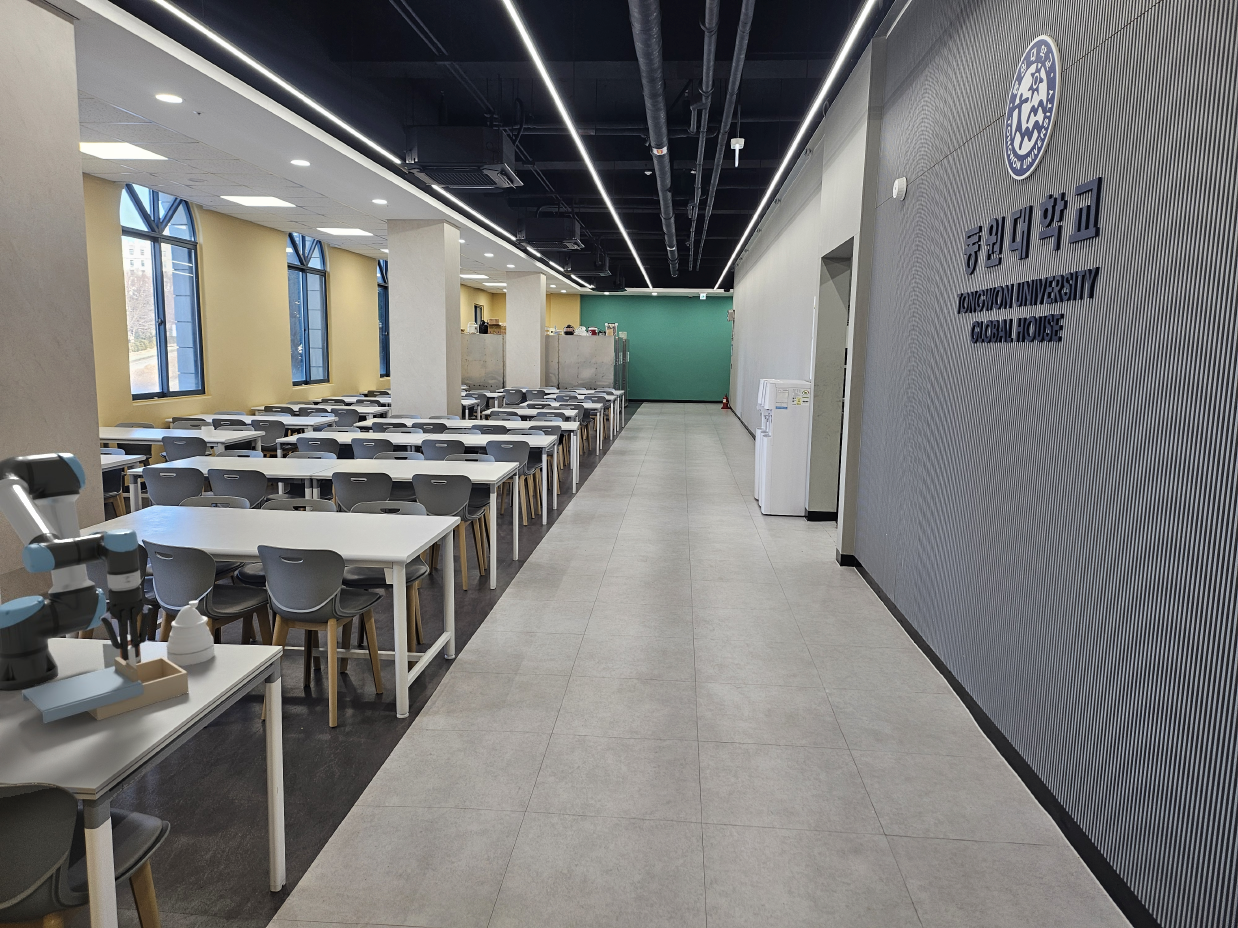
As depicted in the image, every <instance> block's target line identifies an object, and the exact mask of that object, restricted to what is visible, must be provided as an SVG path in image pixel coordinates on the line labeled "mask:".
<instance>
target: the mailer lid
mask: <svg viewBox="0 0 1238 928" xmlns="http://www.w3.org/2000/svg"><path fill="white" fill-rule="evenodd" d="M114 662H115V666H114V667H110V668H106V669H105V668H103V669H99V670H95V671H92V672H87V673H83V674H80V675H76V676H72V677H69V678H64V679H61V680H57V681H53V682H50V683H46V684H45V683H44V684H40V685H36V686H33V687H29V688H25V689H22V690H21V696H22V702H24V703H25V702H27V701H28V702H29V701H30V702H31V703H32V704H33V705H34V707H36V708H37V709H38V710H39V711H40V712H41V713H42V719H43V720H42V721H43V722H42V723H43V724H47V723H50V722H53V721H57V720H60V719H64V718H67V717H70V716H74V715H77V714H80V713H84V712H86V711H87V712H88V710H91V709H95V708H98V707H101V706H105V705H108V704H112V703H115V702H118V701H122V700H125V699H129V698H132V697H136V696H139V695H142V694H144V693H143V684H142V682H141V681H139V680H138V670H137V669H135V668H134V667H133V666H131V665H130V664H128V663H127V662H126V661H124V660H123V659H121V658H120V657H117V658H114Z"/></svg>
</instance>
